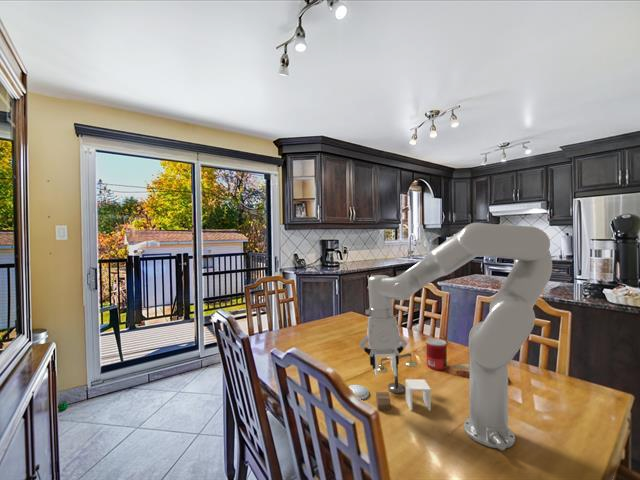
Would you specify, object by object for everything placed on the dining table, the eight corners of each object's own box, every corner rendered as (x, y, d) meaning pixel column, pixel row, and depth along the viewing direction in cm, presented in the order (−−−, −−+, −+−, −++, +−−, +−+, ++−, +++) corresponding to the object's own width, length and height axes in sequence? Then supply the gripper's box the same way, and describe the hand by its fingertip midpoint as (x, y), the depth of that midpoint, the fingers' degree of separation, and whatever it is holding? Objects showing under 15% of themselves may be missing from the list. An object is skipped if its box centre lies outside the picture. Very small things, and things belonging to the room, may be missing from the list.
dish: (370, 400, 103) (370, 397, 103) (344, 400, 103) (344, 396, 103) (367, 387, 112) (367, 383, 112) (343, 386, 112) (343, 383, 112)
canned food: (448, 371, 123) (448, 345, 123) (428, 370, 125) (427, 344, 125) (444, 363, 131) (444, 338, 131) (425, 362, 132) (425, 337, 132)
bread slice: (443, 370, 125) (443, 362, 125) (475, 363, 131) (475, 355, 131) (479, 391, 108) (479, 381, 108) (515, 382, 114) (515, 372, 114)
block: (390, 410, 97) (390, 398, 97) (378, 410, 97) (377, 398, 97) (388, 403, 101) (388, 391, 101) (376, 403, 101) (376, 391, 101)
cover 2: (430, 411, 96) (430, 389, 96) (410, 410, 97) (410, 389, 96) (424, 399, 103) (424, 379, 103) (405, 399, 103) (405, 379, 103)
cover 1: (396, 375, 95) (395, 353, 95) (376, 376, 95) (375, 354, 96) (392, 367, 102) (391, 346, 102) (373, 367, 102) (372, 347, 102)
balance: (419, 393, 107) (419, 356, 106) (376, 393, 107) (376, 356, 107) (415, 385, 113) (414, 350, 112) (374, 385, 113) (374, 350, 113)
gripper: (356, 316, 95) (359, 372, 95) (410, 314, 94) (414, 371, 94) (354, 311, 103) (357, 363, 103) (405, 309, 102) (408, 361, 102)
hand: (384, 366), depth 99 cm, fingers closed on cover 1, 6 cm apart
